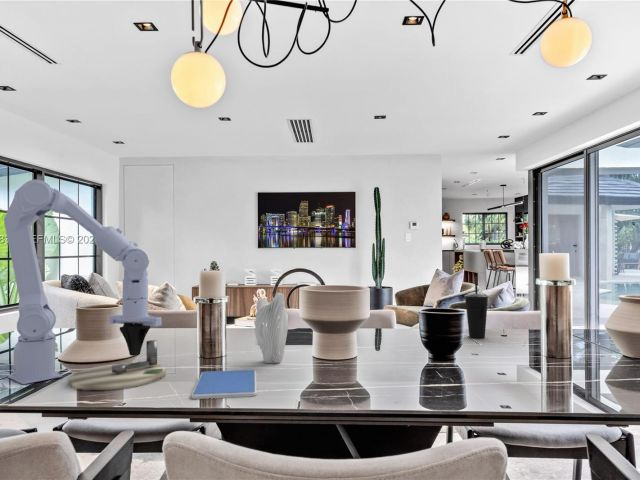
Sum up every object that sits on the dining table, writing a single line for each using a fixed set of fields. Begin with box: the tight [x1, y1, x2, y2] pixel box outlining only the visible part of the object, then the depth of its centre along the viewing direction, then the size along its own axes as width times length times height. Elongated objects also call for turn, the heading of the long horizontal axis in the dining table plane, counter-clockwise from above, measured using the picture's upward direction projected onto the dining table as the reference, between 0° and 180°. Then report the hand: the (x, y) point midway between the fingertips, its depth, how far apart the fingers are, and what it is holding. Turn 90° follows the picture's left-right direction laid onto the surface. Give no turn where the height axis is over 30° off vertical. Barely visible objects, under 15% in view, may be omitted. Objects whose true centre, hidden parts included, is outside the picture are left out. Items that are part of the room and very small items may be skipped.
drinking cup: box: [464, 275, 490, 340], centre depth 152 cm, size 8×8×20 cm
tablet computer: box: [190, 369, 258, 400], centre depth 99 cm, size 19×13×1 cm, turn 8°
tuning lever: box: [112, 339, 158, 373], centre depth 107 cm, size 11×3×6 cm, turn 140°
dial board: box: [67, 362, 167, 391], centre depth 104 cm, size 20×20×1 cm
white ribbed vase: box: [254, 292, 289, 364], centre depth 119 cm, size 8×8×18 cm
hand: (134, 354), depth 112 cm, fingers closed
